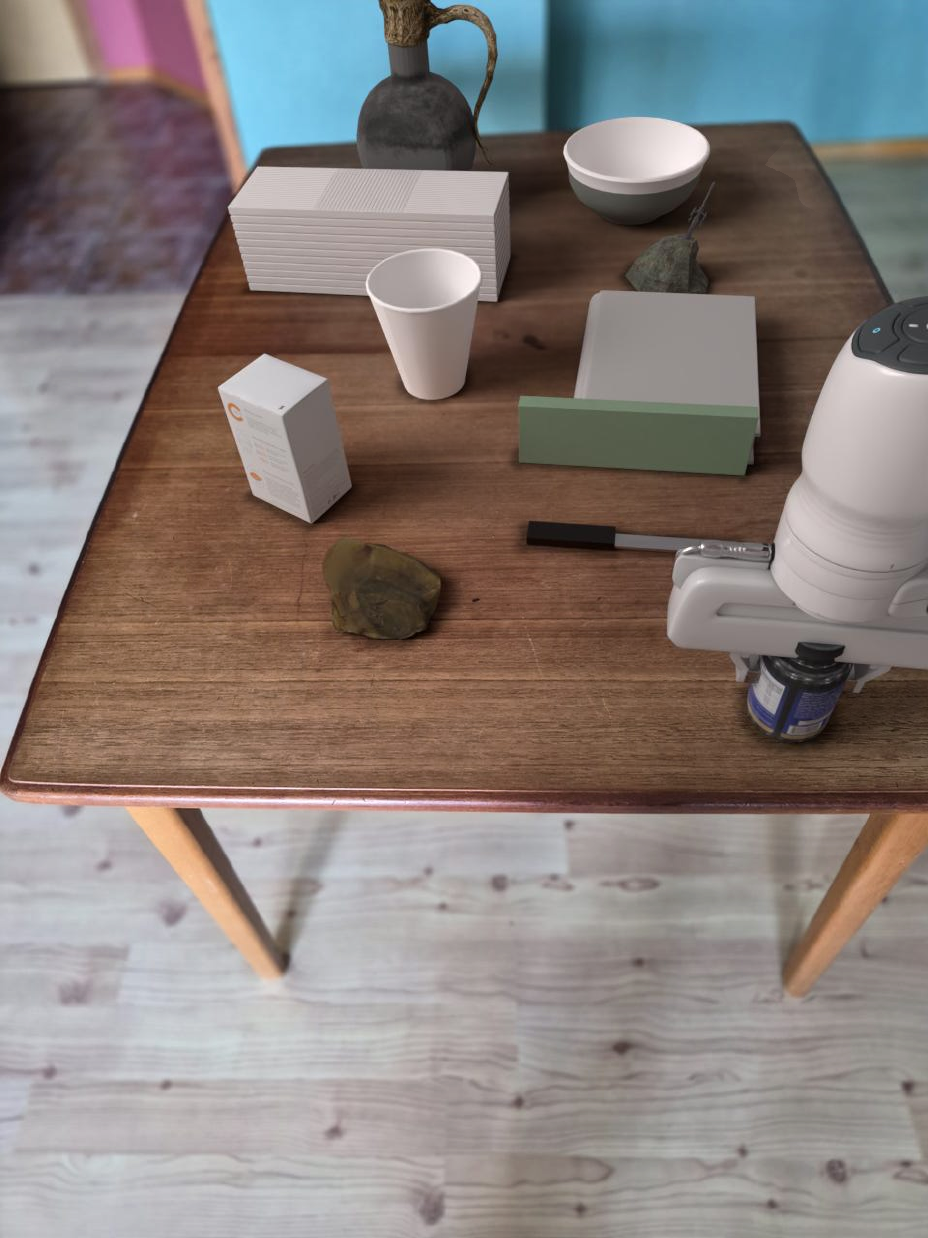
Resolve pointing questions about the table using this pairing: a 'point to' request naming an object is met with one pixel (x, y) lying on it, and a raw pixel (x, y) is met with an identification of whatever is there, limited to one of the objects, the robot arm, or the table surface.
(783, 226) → the table surface
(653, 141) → the bowl
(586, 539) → the table knife
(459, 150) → the pitcher
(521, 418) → the green board
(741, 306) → the white rectangular block
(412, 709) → the table surface
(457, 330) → the cup
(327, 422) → the small box
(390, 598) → the decorative stone
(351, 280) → the white ribbed block
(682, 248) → the sword in stone
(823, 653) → the pill bottle
